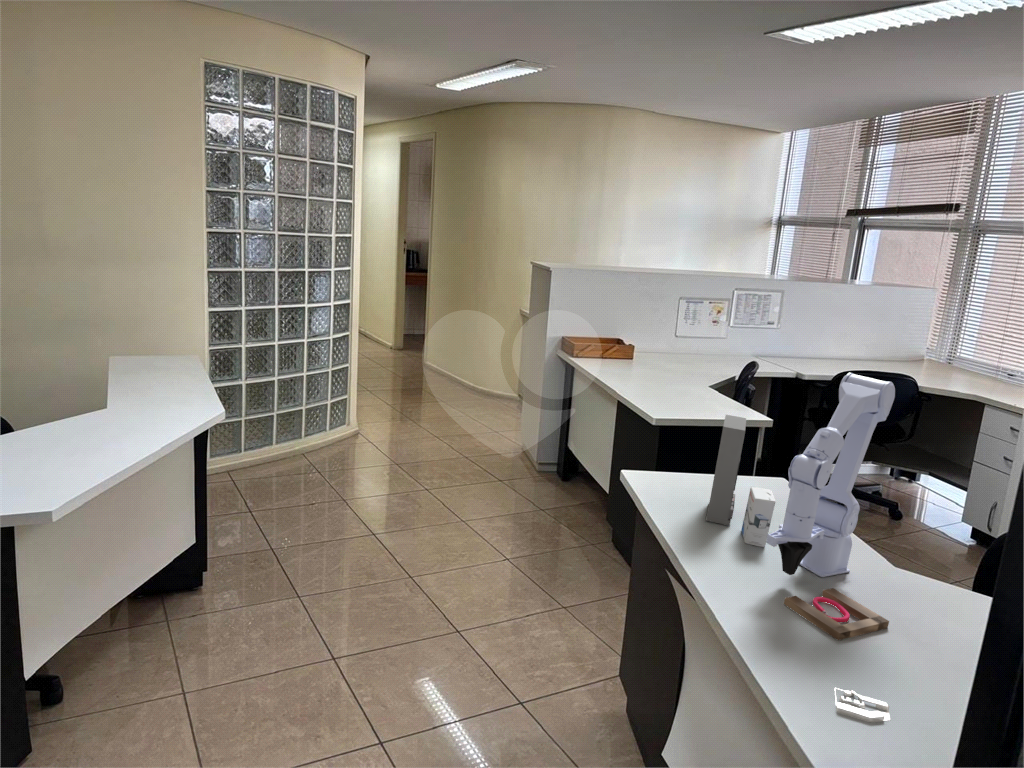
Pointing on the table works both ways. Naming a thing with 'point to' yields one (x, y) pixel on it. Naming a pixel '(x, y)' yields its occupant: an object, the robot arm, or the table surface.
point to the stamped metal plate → (861, 708)
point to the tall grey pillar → (726, 471)
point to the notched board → (832, 627)
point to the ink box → (758, 516)
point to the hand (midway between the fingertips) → (788, 572)
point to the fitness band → (841, 608)
